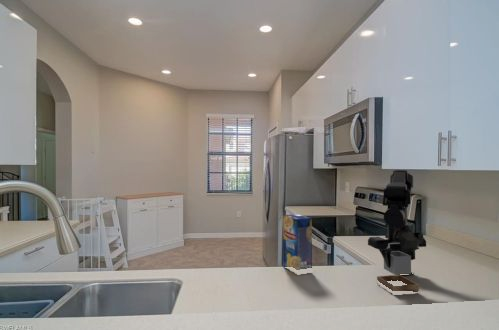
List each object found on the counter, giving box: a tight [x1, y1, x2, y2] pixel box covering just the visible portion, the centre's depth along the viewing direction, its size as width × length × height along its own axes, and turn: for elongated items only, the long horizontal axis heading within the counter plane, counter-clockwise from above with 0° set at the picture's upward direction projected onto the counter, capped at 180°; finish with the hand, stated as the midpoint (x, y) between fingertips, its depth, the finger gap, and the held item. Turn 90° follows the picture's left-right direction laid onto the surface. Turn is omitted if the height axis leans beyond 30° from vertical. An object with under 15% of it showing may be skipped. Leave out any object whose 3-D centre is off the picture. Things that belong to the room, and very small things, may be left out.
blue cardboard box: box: [282, 213, 313, 270], centre depth 119 cm, size 7×11×22 cm, turn 23°
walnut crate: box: [376, 274, 420, 292], centre depth 100 cm, size 9×9×3 cm
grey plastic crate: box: [383, 251, 412, 275], centre depth 100 cm, size 6×6×6 cm
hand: (397, 266), depth 100 cm, fingers closed on grey plastic crate, 6 cm apart
